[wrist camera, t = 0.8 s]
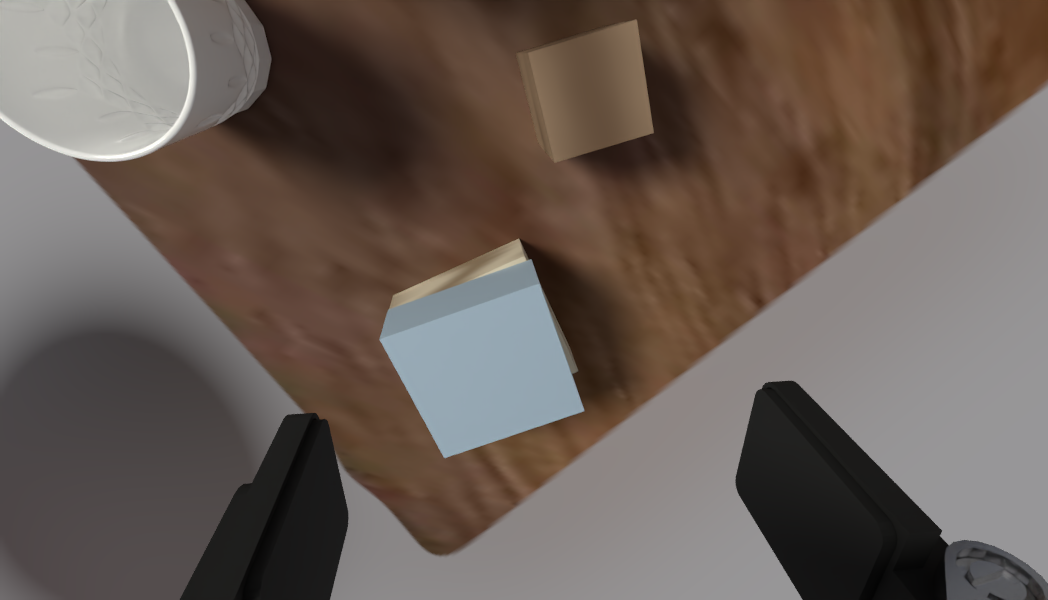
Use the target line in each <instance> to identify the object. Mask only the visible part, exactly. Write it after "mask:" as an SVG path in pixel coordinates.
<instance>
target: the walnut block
mask: <svg viewBox="0 0 1048 600" xmlns="http://www.w3.org/2000/svg"><path fill="white" fill-rule="evenodd" d="M516 57H517V61H518V65H519V69H520V73H521V77H522V81H523V85H524V89H525V93H526V97H527V101H528V105H529V109H530V113H531V117H532V121H533V125H534V129H535V133H536V137H537V141H538V144H539V145H540V146H541V147H542V149H543V150H544V151H545V152H546V153H547V154H548V156H549V157H550V158H551V159H552V160H553V161H554V163H556V162H559V161H562V160H566V159H569V158H572V157H576V156H579V155H582V154H586V153H589V152H592V151H596V150H599V149H602V148H606V147H609V146H612V145H616V144H619V143H622V142H626V141H629V140H632V139H636V138H639V137H642V136H646V135H649V134H652V133H654V131H653V124H652V118H651V111H650V104H649V98H648V91H647V84H646V78H645V71H644V64H643V58H642V51H641V44H640V38H639V31H638V24H637V20H632V21H627V22H622V23H617V24H612V25H607V26H603V27H599V28H596V29H593V30H590V31H586V32H583V33H580V34H577V35H573V36H570V37H567V38H563V39H560V40H557V41H554V42H550V43H547V44H544V45H540V46H537V47H534V48H531V49H527V50H524V51H521V52H518V53H516Z"/></svg>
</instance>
